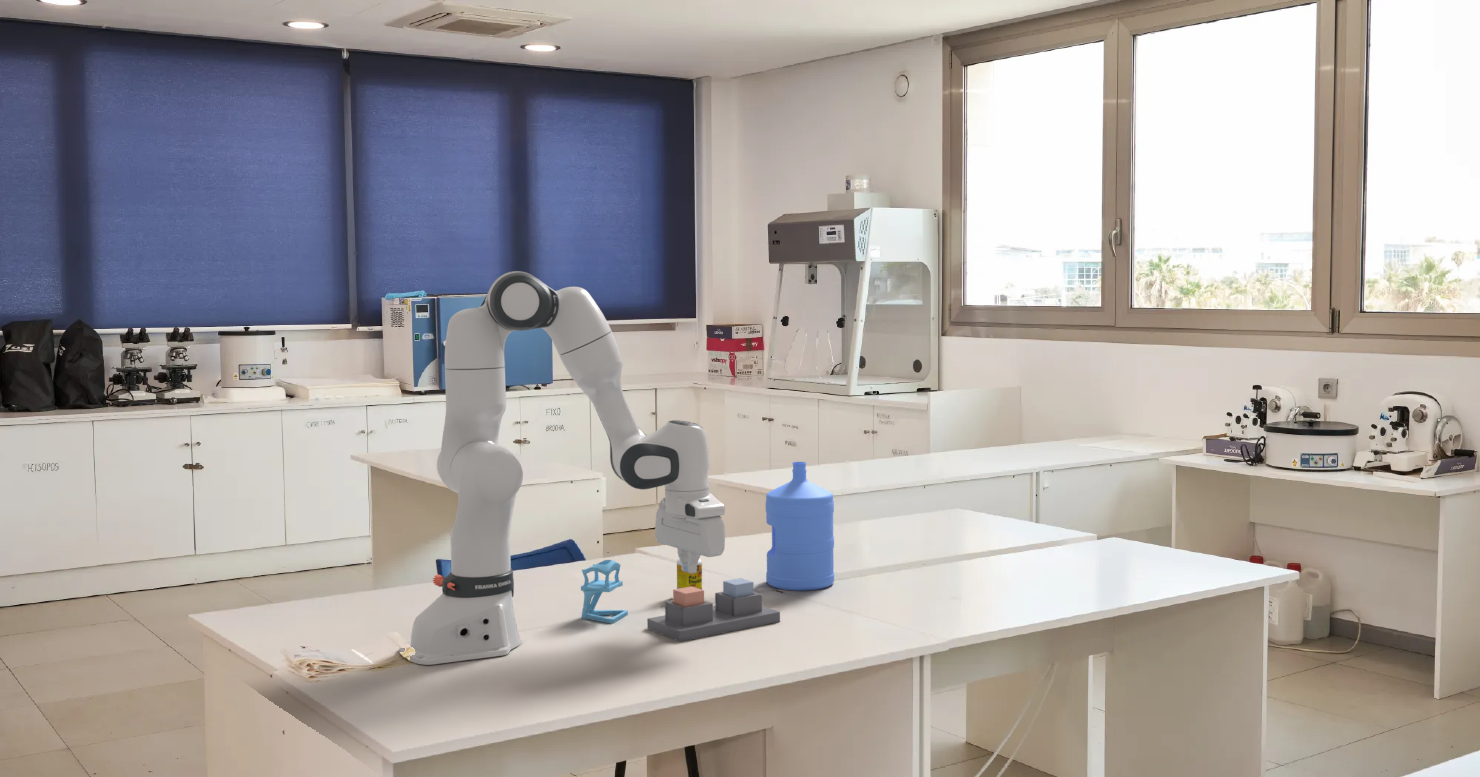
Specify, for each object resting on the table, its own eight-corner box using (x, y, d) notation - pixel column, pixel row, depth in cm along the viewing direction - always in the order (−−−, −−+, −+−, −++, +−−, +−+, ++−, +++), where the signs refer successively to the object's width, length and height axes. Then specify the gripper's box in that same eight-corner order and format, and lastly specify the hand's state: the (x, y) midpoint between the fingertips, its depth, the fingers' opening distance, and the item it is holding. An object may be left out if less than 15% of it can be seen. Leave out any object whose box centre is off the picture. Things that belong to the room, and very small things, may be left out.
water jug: (846, 580, 282) (845, 460, 280) (813, 594, 269) (812, 468, 267) (787, 573, 290) (786, 456, 288) (753, 586, 277) (752, 464, 275)
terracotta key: (685, 608, 237) (685, 593, 237) (673, 604, 241) (673, 589, 241) (704, 605, 240) (704, 590, 240) (692, 601, 243) (691, 586, 243)
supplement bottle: (688, 601, 264) (687, 554, 263) (671, 596, 268) (671, 551, 267) (707, 596, 268) (707, 550, 267) (690, 592, 272) (690, 547, 271)
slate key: (735, 599, 244) (735, 585, 244) (723, 595, 248) (723, 581, 248) (753, 596, 247) (753, 581, 246) (741, 592, 250) (740, 578, 250)
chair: (592, 611, 256) (591, 555, 255) (628, 614, 253) (627, 557, 252) (575, 621, 249) (574, 563, 248) (612, 623, 246) (611, 565, 245)
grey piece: (679, 641, 232) (679, 613, 232) (647, 628, 242) (647, 601, 242) (780, 621, 246) (779, 594, 246) (745, 609, 256) (745, 584, 255)
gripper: (646, 497, 246) (648, 565, 247) (702, 511, 229) (704, 583, 230) (673, 494, 249) (674, 561, 250) (730, 507, 232) (731, 578, 233)
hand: (689, 572), depth 240 cm, fingers closed
